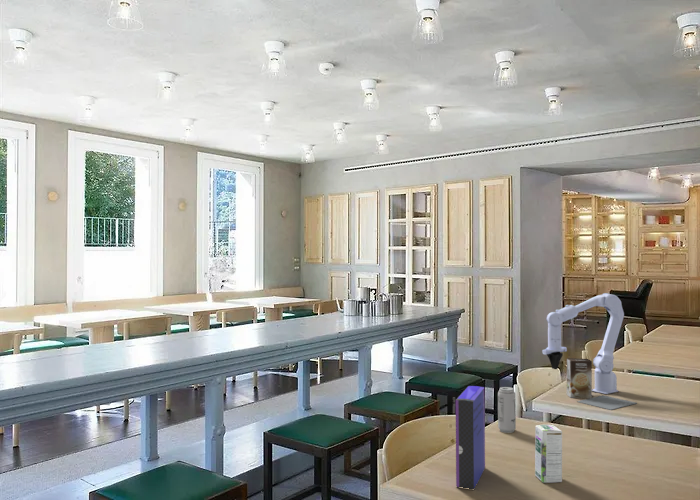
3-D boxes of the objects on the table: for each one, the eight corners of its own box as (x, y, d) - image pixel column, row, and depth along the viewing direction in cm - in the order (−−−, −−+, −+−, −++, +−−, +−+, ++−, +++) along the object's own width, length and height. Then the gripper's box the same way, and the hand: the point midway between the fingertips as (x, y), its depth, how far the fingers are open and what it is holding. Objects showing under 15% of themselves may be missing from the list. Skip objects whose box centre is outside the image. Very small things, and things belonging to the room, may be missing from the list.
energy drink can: (516, 433, 206) (516, 390, 206) (498, 432, 207) (498, 390, 207) (515, 428, 212) (514, 386, 212) (497, 427, 213) (497, 386, 213)
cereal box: (468, 465, 176) (468, 385, 176) (485, 467, 174) (484, 386, 174) (456, 487, 160) (455, 399, 160) (473, 490, 158) (473, 400, 158)
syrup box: (534, 475, 168) (533, 424, 168) (554, 474, 168) (553, 423, 168) (542, 483, 162) (542, 430, 162) (563, 482, 162) (562, 430, 162)
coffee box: (570, 398, 254) (570, 360, 254) (566, 394, 260) (566, 358, 260) (592, 398, 253) (592, 361, 253) (587, 394, 260) (587, 358, 260)
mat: (603, 395, 257) (603, 395, 257) (636, 403, 244) (636, 402, 244) (577, 401, 247) (577, 401, 247) (610, 410, 234) (610, 409, 234)
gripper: (557, 336, 275) (557, 365, 275) (536, 339, 267) (537, 369, 267) (570, 338, 269) (570, 368, 269) (549, 341, 261) (549, 371, 261)
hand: (554, 368), depth 267 cm, fingers closed
